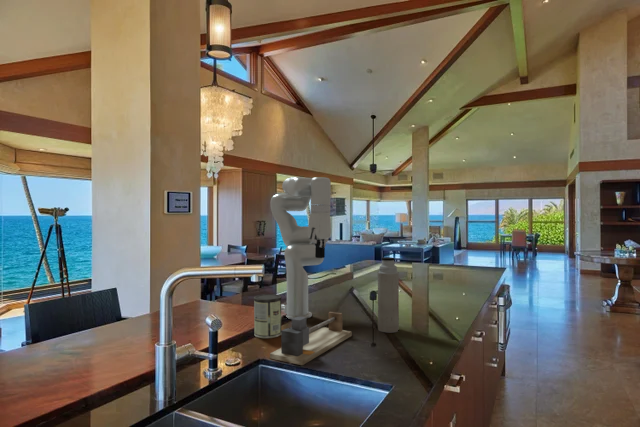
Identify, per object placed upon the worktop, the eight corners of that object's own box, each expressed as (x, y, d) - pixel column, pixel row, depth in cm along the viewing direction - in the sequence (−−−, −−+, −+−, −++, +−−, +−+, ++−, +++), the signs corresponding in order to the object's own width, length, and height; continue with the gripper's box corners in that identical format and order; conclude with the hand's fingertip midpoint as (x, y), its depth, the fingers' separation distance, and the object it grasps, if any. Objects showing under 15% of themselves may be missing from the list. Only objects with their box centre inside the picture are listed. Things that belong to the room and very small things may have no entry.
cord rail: (269, 358, 124) (269, 330, 124) (323, 331, 154) (323, 308, 154) (302, 365, 118) (302, 336, 118) (351, 335, 148) (351, 312, 148)
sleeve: (289, 343, 127) (289, 318, 127) (295, 340, 131) (295, 315, 131) (302, 346, 125) (302, 320, 125) (309, 342, 128) (309, 317, 128)
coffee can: (261, 329, 156) (261, 293, 156) (286, 331, 153) (286, 294, 153) (248, 336, 146) (248, 298, 147) (274, 339, 143) (274, 300, 143)
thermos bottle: (398, 327, 159) (398, 256, 159) (398, 333, 151) (398, 258, 151) (378, 326, 160) (378, 256, 160) (377, 332, 152) (377, 258, 153)
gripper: (322, 209, 161) (321, 255, 162) (301, 209, 149) (301, 259, 149) (338, 209, 158) (337, 256, 158) (318, 210, 145) (318, 260, 145)
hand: (320, 257), depth 153 cm, fingers closed
